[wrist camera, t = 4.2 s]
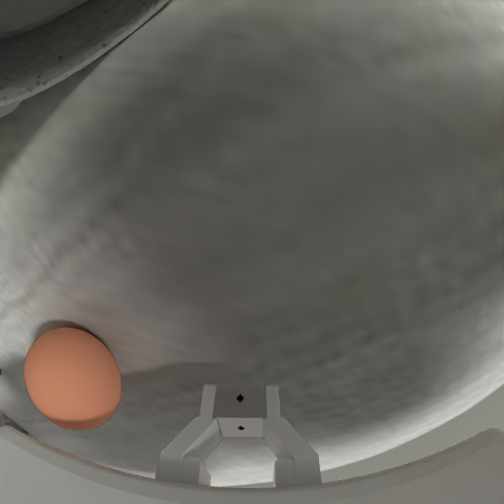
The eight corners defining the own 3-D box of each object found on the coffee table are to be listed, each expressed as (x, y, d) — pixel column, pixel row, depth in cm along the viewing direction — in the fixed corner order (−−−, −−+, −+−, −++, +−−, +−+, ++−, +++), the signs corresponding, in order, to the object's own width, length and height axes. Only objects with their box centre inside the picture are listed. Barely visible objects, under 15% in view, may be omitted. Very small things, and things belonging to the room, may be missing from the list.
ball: (115, 309, 11) (67, 401, 7) (145, 379, 13) (122, 458, 9) (39, 302, 11) (-11, 369, 7) (75, 367, 13) (44, 431, 9)
